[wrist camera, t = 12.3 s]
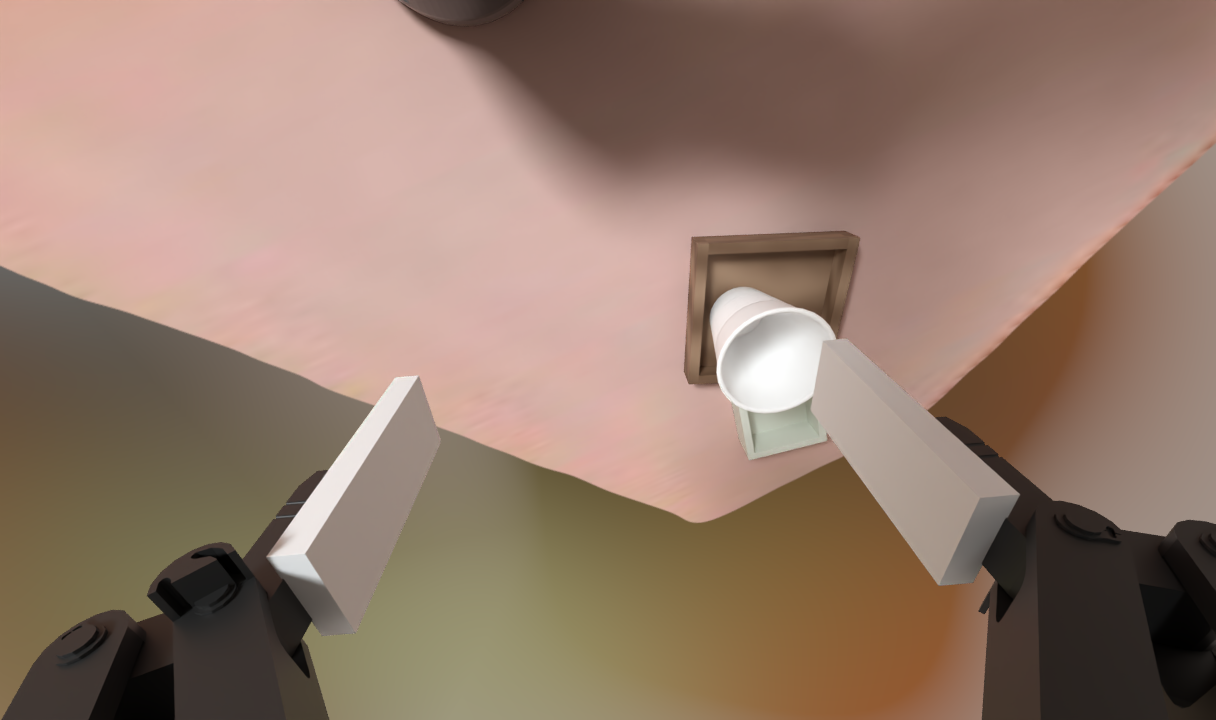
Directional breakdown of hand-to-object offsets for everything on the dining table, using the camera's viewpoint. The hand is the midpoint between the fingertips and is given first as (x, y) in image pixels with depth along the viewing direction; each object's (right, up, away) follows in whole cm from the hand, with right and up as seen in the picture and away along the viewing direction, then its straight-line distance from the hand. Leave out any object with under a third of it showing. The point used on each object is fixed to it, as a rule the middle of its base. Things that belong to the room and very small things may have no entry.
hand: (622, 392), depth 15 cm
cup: (+13, +6, +32) cm, 35 cm away
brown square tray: (+15, +7, +32) cm, 36 cm away
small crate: (+19, -4, +38) cm, 42 cm away
